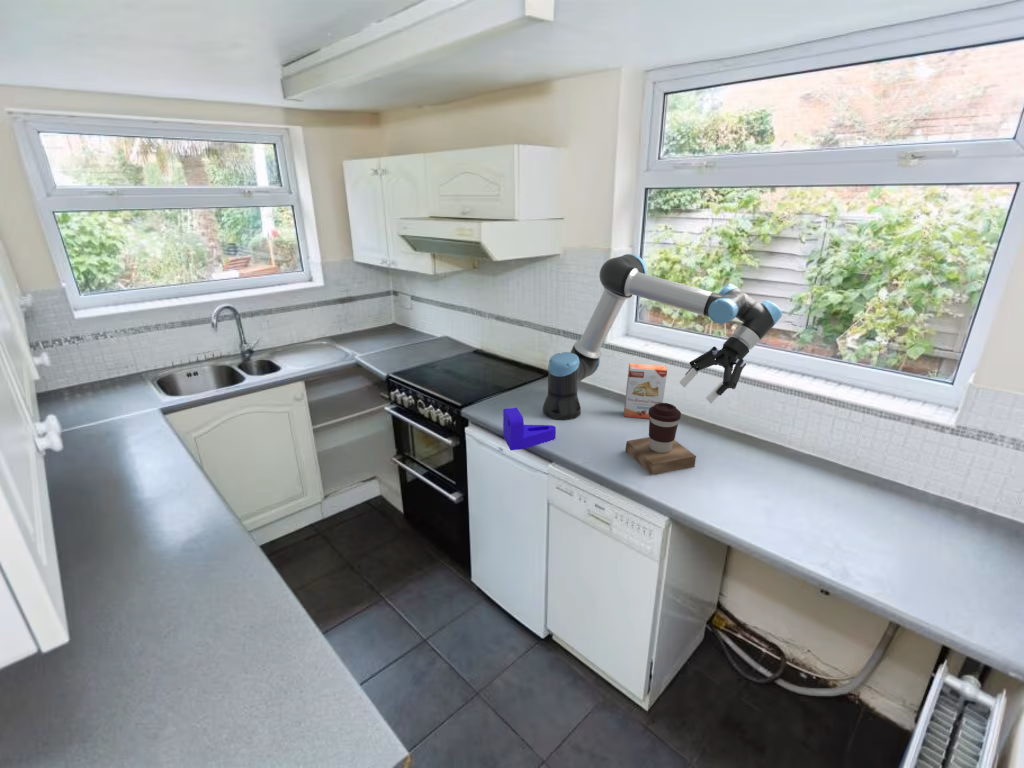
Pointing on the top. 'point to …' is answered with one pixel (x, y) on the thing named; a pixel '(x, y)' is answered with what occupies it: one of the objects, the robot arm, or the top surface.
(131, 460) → the top surface
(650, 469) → the cup stand
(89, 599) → the top surface
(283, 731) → the top surface
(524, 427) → the bracket
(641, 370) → the cracker box
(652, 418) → the coffee cup
